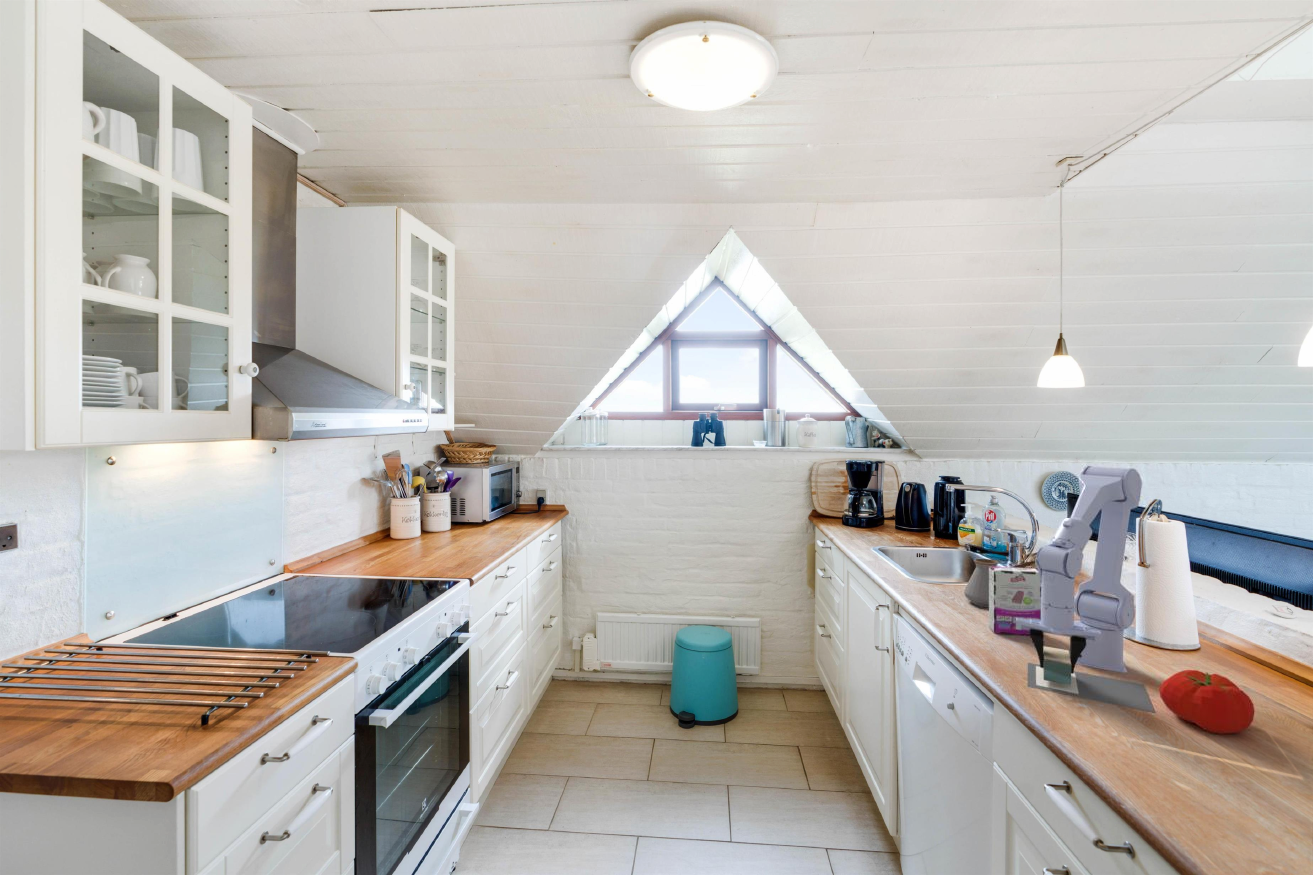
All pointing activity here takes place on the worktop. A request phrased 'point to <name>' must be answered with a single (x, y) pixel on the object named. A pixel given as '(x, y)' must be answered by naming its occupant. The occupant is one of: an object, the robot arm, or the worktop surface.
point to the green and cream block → (1057, 665)
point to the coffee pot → (983, 581)
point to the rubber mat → (1094, 689)
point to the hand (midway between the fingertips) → (1056, 668)
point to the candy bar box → (1013, 598)
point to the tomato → (1208, 701)
